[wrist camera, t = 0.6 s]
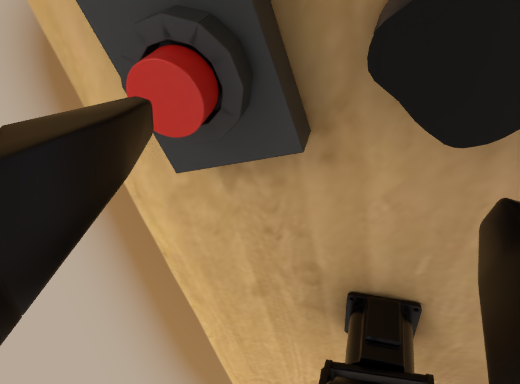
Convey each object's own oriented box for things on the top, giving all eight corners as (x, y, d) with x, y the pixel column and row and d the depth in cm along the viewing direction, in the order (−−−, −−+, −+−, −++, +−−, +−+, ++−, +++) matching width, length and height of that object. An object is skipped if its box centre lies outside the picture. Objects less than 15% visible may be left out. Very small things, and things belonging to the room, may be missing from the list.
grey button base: (311, 131, 25) (298, 169, 22) (191, 154, 29) (165, 188, 26) (239, -97, 18) (204, -93, 15) (96, -24, 22) (43, -7, 19)
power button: (231, 111, 21) (217, 130, 19) (169, 125, 23) (152, 144, 21) (197, 33, 18) (178, 47, 17) (131, 56, 20) (109, 71, 19)
